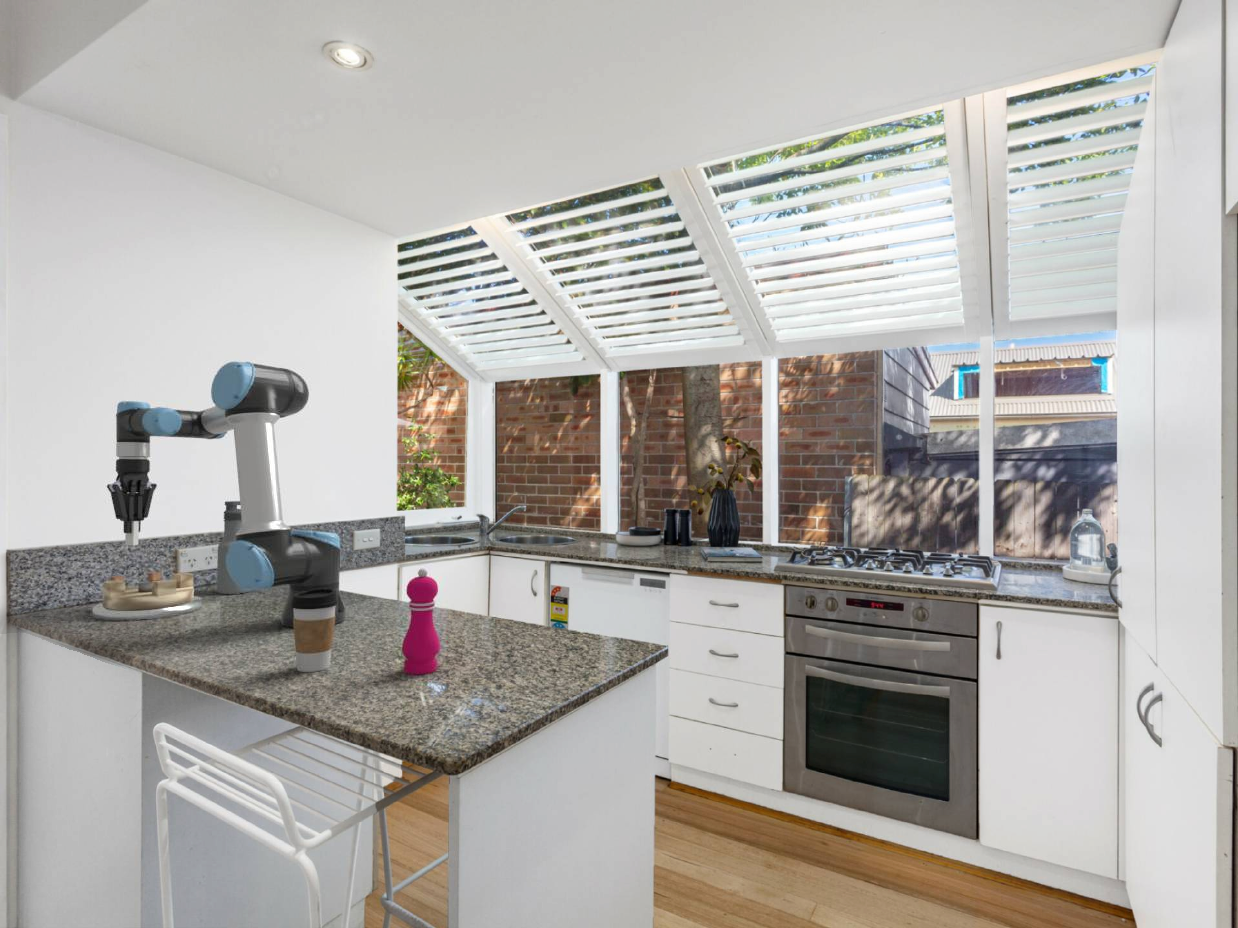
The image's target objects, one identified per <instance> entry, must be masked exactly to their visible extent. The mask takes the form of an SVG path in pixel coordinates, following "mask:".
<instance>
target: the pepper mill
mask: <svg viewBox="0 0 1238 928" xmlns="http://www.w3.org/2000/svg"><path fill="white" fill-rule="evenodd" d="M417 571H418V572H417V575H418V576H415V577H413V578H412V579H410V580H409V582H408V583H407V585H406V595H407V597H408V598H409V600H410V601H408V605H409V606H408V609H409V610H410V623H409V626H408V629H407V631H406V634H405V637H404V638H403V642H402V645H401V652H402V654H403V656H404V657H405V658H406V660H405V661H404V663H403V671H404V672H405V673H406V674H410V675H427V674H430V673H434V672H435V670H436V671H437V669H438V658H435V657H436V656H437V655H438V654H439V653H440V650H441V642H440V638H439V636H438V633H437V631H436V627H435V624H434V617H433V614H434V613H433V612H434V609H435V608H436V605H435V604H436V600H434V599H435V598H436V597H437V595H438V593H439V585H438V583H437V581H436V580H435V578H432V576H431V577H430V576H428V570H427V569H426V568H423V567H422V568H420V569H419V570H417Z"/></svg>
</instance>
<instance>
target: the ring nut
mask: <svg viewBox="0 0 1238 928" xmlns="http://www.w3.org/2000/svg"><path fill="white" fill-rule="evenodd" d="M102 583H103V584H102V590H103V591H102V603H103V607H104V608H107V609H114V610H140V609H153V608H162V607H169V606H175V605H180V604H184V603H188V602H190V601H192V600H193V599H194V596H195V595H194V593H195V592H194V589H195V587H194V573H189V572H179V573H173V574H172V579H170V578H169V579H164V580H163V579H162V572H158V571H150V572H147V581H146V582H145V581H144V582H140V583H138V585H137V586H136V585H135V586H128V587H126V581H125V576H122V575H114V576H113V575H112V576H109V580H105V581H103V582H102Z"/></svg>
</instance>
